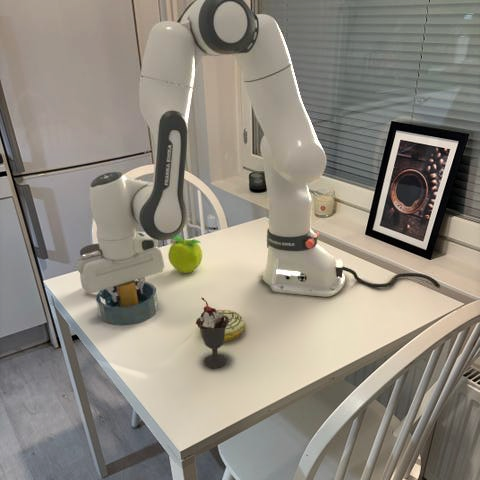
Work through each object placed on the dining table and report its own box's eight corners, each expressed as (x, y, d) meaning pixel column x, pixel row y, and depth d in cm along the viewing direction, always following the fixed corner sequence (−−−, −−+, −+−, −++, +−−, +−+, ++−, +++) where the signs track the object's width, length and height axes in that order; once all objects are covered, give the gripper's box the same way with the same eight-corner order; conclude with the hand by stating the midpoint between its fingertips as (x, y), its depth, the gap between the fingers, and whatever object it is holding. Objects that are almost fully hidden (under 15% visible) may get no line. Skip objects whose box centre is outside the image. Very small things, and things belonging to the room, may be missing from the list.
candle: (142, 306, 124) (138, 276, 120) (131, 314, 120) (126, 284, 116) (128, 302, 126) (122, 273, 121) (116, 311, 122) (111, 281, 118)
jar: (92, 300, 129) (83, 258, 123) (83, 288, 135) (74, 248, 129) (124, 290, 133) (117, 250, 127) (113, 280, 139) (106, 240, 133)
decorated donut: (248, 321, 118) (248, 307, 116) (240, 346, 109) (239, 332, 107) (206, 318, 120) (205, 304, 118) (194, 342, 111) (193, 328, 109)
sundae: (199, 353, 107) (193, 292, 99) (230, 351, 107) (226, 290, 99) (199, 371, 101) (193, 309, 93) (232, 369, 102) (228, 306, 94)
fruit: (181, 262, 148) (178, 231, 143) (208, 267, 145) (206, 235, 139) (164, 274, 141) (160, 242, 136) (192, 280, 138) (189, 247, 132)
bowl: (169, 304, 126) (167, 286, 124) (135, 332, 115) (132, 313, 112) (124, 293, 132) (121, 276, 129) (87, 319, 121) (83, 301, 118)
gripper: (79, 261, 107) (91, 315, 114) (163, 238, 117) (170, 289, 124) (70, 252, 112) (82, 304, 119) (152, 231, 121) (159, 281, 128)
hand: (128, 297), depth 121 cm, fingers closed on candle, 4 cm apart
